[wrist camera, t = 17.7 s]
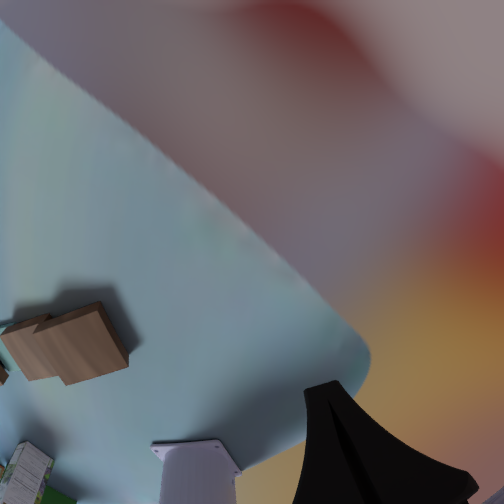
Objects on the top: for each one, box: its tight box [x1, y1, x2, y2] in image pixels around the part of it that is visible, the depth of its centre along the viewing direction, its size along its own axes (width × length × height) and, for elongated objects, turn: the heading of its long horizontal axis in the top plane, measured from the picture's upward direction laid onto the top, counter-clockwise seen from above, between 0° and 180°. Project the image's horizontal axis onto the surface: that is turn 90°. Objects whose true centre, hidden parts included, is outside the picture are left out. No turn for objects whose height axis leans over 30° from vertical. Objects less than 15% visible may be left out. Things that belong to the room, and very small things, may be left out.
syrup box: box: [0, 441, 55, 504], centre depth 20 cm, size 6×6×14 cm
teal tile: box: [0, 322, 21, 371], centre depth 19 cm, size 2×5×6 cm
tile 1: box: [32, 301, 129, 386], centre depth 18 cm, size 2×5×6 cm
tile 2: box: [0, 313, 58, 381], centre depth 18 cm, size 2×5×6 cm
